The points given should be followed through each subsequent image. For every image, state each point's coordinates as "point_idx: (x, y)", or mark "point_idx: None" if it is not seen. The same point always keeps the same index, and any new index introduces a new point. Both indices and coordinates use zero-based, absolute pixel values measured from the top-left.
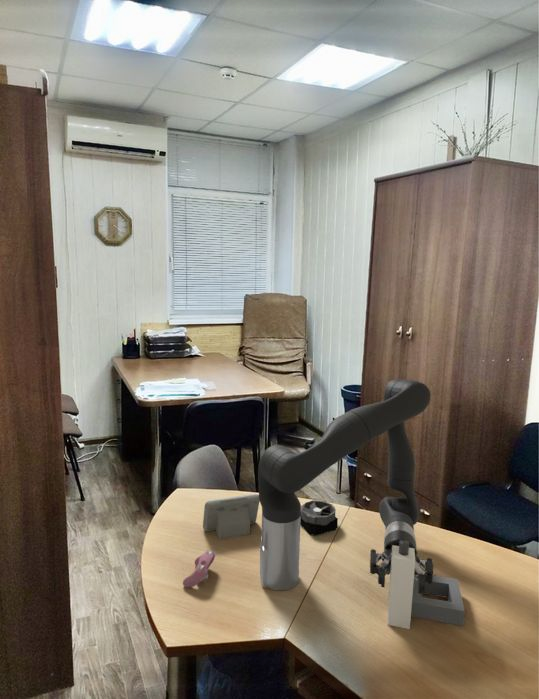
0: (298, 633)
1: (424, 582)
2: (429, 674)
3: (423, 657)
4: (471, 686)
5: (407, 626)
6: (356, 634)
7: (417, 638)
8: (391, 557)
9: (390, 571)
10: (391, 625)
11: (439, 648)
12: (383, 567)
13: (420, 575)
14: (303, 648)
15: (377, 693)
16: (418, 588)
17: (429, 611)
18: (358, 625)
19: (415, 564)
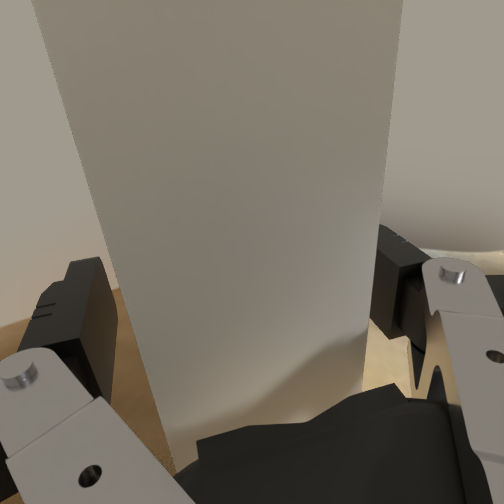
0: (495, 270)
1: (41, 310)
2: (127, 318)
3: (140, 356)
4: (12, 335)
5: None
6: (369, 333)
7: (159, 423)
8: (378, 172)
9: (363, 323)
10: None
11: None
12: (422, 268)
13: (56, 331)
14: (439, 250)
15: None
16: (108, 295)
17: None
18: (392, 368)
19: (75, 419)
